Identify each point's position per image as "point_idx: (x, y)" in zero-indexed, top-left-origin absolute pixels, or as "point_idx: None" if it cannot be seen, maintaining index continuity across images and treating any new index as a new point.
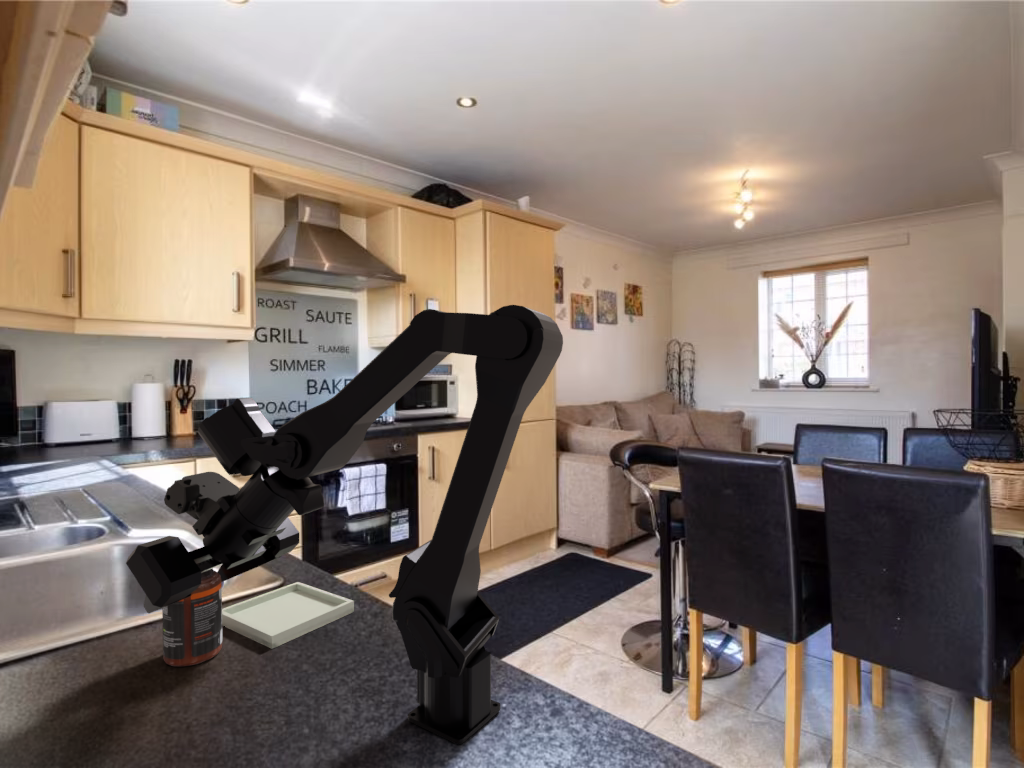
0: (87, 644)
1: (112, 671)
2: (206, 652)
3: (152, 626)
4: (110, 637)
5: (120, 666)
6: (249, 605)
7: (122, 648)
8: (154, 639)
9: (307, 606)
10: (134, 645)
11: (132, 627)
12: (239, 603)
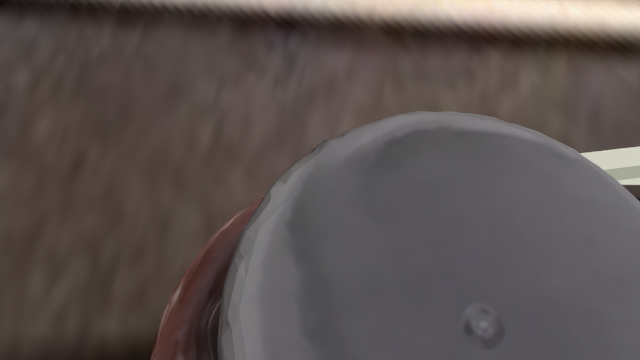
0: (77, 34)
1: (38, 324)
2: None
3: (285, 51)
4: (151, 36)
5: (77, 302)
6: (627, 175)
7: (145, 149)
8: (255, 159)
9: None
10: (184, 156)
11: (231, 13)
12: (596, 159)
